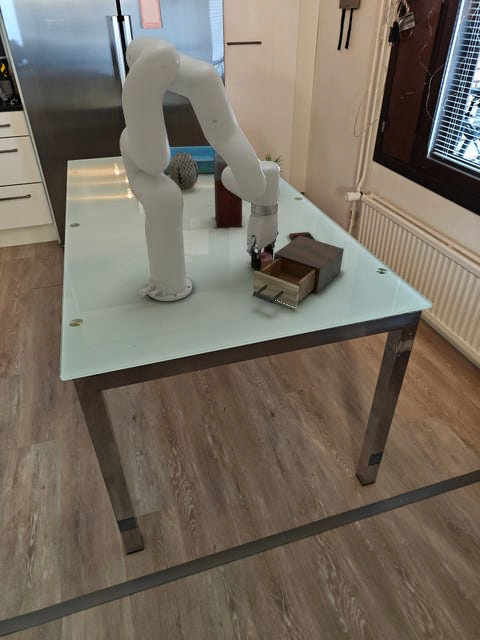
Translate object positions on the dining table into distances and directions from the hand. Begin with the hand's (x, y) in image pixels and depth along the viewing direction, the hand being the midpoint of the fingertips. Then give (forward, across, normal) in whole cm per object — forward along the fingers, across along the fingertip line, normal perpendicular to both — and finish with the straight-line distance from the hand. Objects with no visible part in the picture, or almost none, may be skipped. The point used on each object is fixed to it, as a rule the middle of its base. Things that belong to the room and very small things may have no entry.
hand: (262, 263), depth 141 cm
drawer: (0, +12, +14) cm, 18 cm away
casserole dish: (+1, -58, -77) cm, 96 cm away
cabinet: (+1, -3, +14) cm, 14 cm away
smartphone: (+1, -20, +4) cm, 20 cm away
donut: (+1, 0, 0) cm, 1 cm away
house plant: (+1, -50, -30) cm, 58 cm away
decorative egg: (+1, -35, -62) cm, 71 cm away
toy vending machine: (+1, -20, -28) cm, 34 cm away
